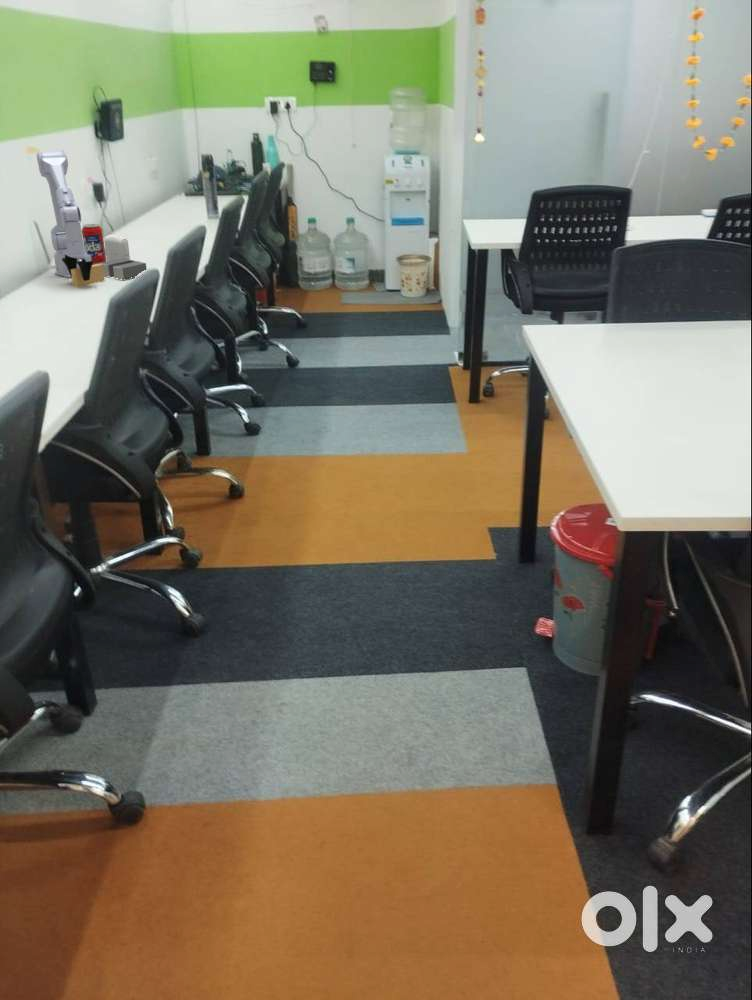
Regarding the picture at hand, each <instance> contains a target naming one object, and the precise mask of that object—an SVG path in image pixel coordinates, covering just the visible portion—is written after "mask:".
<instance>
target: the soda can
mask: <svg viewBox="0 0 752 1000" xmlns="http://www.w3.org/2000/svg"><path fill="white" fill-rule="evenodd" d="M81 232H82V239H83V245H84V251H86V252H87V254H88V255H91V260H93V264H92V265H95V264H99V263H103V262H107V257H106V249H105V242H104V240H105V238H104V233H103V232H104V231H103V228H102V227H101V225H100V224H99V223H87V224H86V223H85V224H83V225H82V228H81Z"/></svg>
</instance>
